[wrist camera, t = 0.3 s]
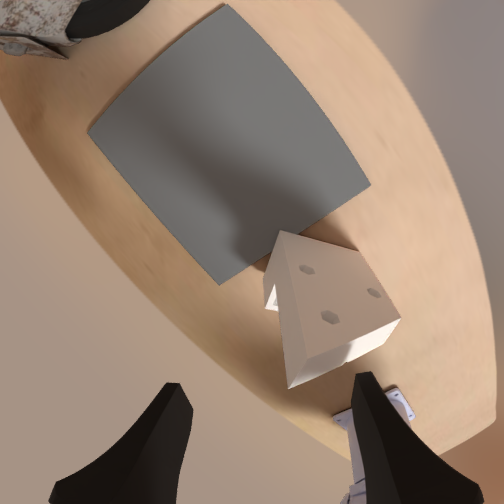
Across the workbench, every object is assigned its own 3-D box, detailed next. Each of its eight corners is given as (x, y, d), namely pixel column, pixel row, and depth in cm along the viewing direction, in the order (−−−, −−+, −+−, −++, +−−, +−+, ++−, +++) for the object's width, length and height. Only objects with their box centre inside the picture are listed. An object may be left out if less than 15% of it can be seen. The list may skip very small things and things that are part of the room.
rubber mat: (369, 183, 16) (371, 185, 16) (220, 282, 20) (219, 285, 20) (228, 5, 12) (227, 3, 12) (90, 132, 16) (87, 133, 15)
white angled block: (204, 229, 15) (307, 358, 9) (332, 231, 20) (425, 304, 14) (192, 285, 16) (271, 412, 10) (314, 272, 22) (394, 349, 16)
